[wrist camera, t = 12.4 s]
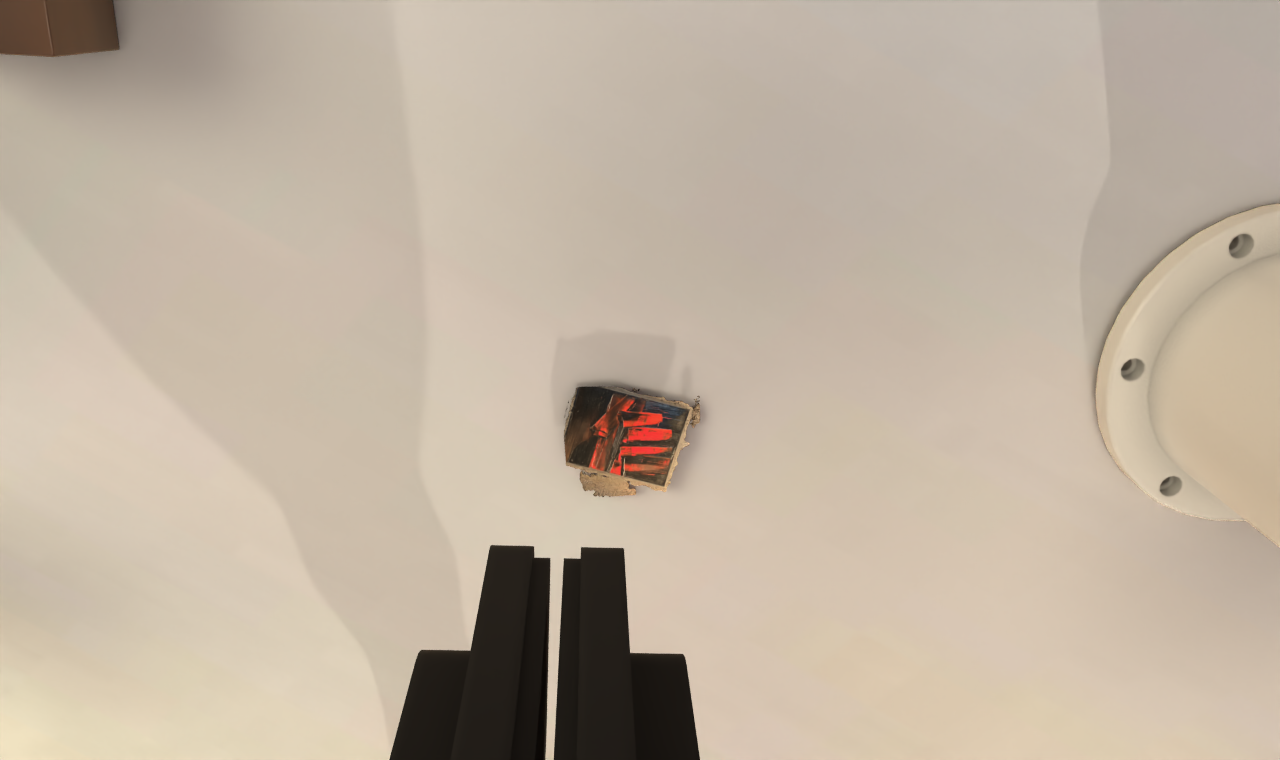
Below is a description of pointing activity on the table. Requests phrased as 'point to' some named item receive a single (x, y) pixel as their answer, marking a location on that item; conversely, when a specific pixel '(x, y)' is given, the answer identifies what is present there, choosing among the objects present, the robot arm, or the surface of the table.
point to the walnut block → (57, 27)
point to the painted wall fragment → (625, 438)
